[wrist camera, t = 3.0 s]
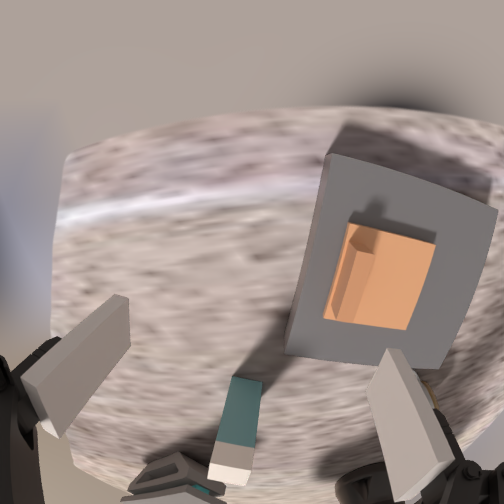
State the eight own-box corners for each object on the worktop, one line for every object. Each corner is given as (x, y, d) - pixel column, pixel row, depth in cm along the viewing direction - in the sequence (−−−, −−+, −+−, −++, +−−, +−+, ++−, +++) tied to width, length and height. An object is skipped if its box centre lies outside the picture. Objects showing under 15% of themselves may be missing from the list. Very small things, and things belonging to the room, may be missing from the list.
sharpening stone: (163, 483, 48) (150, 518, 37) (135, 467, 47) (120, 501, 36) (234, 461, 41) (225, 509, 31) (200, 441, 40) (185, 491, 30)
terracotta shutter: (432, 243, 23) (451, 254, 20) (402, 326, 26) (416, 346, 22) (347, 221, 24) (359, 230, 20) (322, 314, 26) (327, 335, 23)
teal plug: (262, 382, 35) (251, 470, 21) (256, 401, 36) (244, 485, 22) (232, 376, 35) (209, 462, 21) (228, 396, 36) (207, 478, 23)
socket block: (478, 204, 26) (498, 210, 22) (427, 351, 31) (438, 369, 27) (325, 155, 26) (332, 152, 23) (284, 333, 32) (284, 354, 28)
